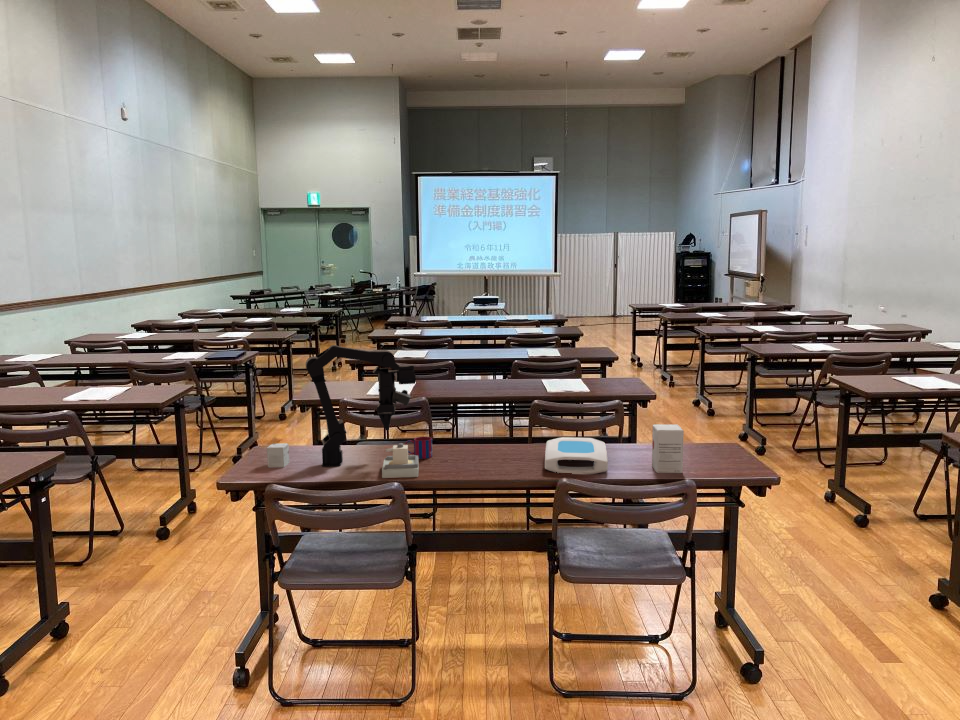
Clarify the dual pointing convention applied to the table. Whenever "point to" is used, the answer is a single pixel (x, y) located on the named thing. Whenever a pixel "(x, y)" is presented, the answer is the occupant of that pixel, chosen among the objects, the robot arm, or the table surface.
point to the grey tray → (400, 468)
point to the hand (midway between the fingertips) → (387, 427)
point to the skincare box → (278, 455)
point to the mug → (422, 447)
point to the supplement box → (667, 448)
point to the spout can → (399, 453)
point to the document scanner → (576, 455)
